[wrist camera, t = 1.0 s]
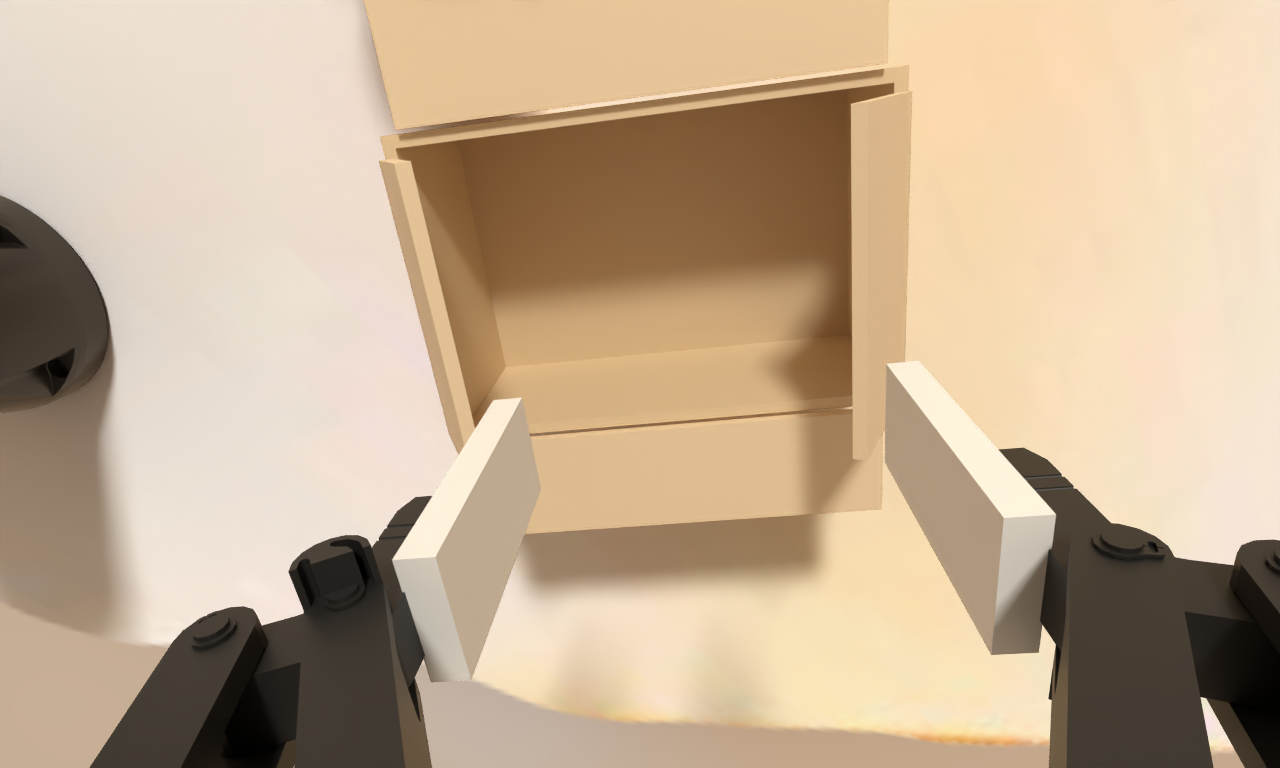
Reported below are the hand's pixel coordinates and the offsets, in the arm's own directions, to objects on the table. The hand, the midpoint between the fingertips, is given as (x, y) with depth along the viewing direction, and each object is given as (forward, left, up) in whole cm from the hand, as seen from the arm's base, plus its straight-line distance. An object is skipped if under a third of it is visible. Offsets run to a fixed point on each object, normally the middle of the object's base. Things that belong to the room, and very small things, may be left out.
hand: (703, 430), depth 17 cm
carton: (-2, 0, -27) cm, 28 cm away
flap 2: (+10, 0, -17) cm, 19 cm away
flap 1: (-14, 0, -17) cm, 22 cm away
